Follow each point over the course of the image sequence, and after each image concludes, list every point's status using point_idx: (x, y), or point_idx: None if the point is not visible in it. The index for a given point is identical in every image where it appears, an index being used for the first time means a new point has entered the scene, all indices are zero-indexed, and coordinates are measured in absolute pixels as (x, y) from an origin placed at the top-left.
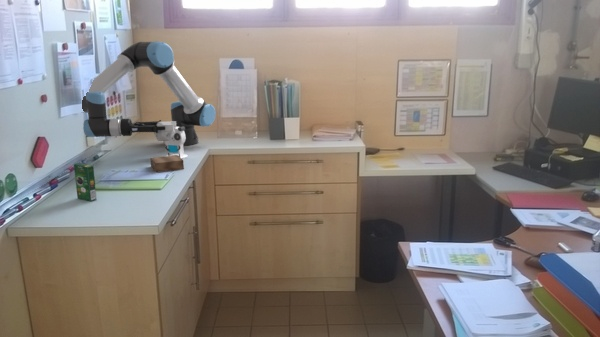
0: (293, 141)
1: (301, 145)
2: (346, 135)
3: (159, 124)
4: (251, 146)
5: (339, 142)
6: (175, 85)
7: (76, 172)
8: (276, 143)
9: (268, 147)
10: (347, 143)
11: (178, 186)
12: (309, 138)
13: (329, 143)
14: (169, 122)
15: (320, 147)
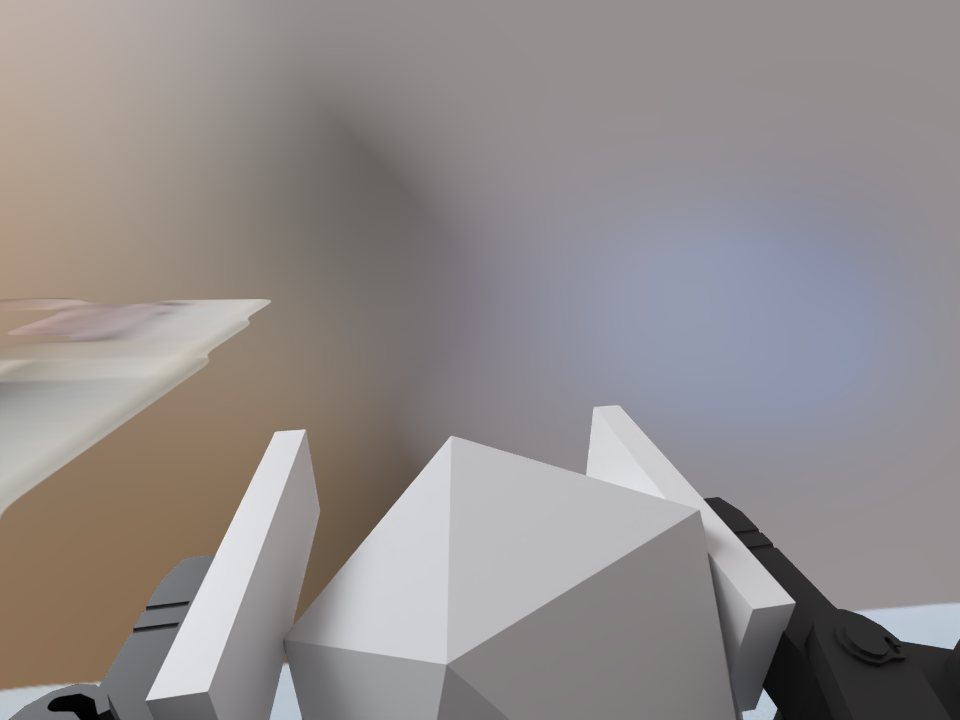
0: (62, 367)
1: (162, 354)
2: (101, 307)
3: (683, 589)
4: (10, 456)
5: (190, 313)
6: None
7: None
8: (44, 396)
9: (109, 409)
10: (216, 307)
11: (952, 623)
12: (53, 345)
13: (187, 322)
14: (488, 448)
15: (231, 331)
